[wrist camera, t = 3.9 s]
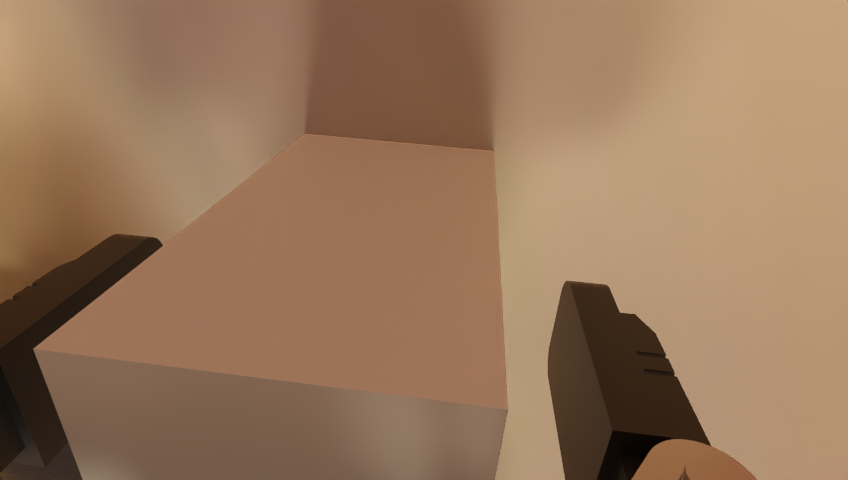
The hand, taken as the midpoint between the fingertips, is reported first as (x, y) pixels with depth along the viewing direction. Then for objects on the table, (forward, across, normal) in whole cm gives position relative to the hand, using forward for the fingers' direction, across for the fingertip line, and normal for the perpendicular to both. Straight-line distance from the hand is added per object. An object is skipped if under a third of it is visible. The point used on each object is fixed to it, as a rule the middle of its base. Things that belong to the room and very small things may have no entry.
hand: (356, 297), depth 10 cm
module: (+3, 0, 0) cm, 3 cm away
